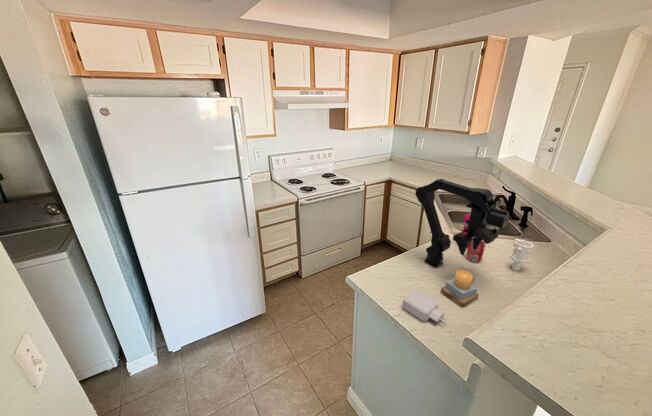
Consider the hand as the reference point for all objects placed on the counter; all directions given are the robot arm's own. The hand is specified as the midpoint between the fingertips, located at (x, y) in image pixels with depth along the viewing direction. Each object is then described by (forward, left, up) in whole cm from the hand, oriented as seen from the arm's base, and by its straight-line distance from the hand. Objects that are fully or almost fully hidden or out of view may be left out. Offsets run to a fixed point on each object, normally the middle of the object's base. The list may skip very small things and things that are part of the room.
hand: (468, 252), depth 115 cm
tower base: (+7, -13, -14) cm, 20 cm away
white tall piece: (+9, +28, -13) cm, 32 cm away
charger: (+7, -32, -14) cm, 36 cm away
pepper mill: (-17, +27, -13) cm, 35 cm away
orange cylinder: (+7, -13, -8) cm, 16 cm away
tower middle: (+7, -13, -11) cm, 18 cm away
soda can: (-6, +18, -13) cm, 23 cm away
